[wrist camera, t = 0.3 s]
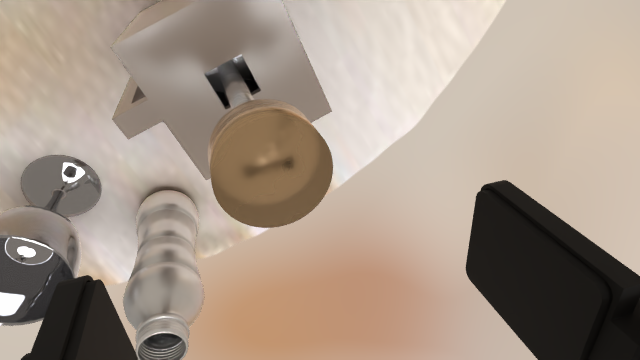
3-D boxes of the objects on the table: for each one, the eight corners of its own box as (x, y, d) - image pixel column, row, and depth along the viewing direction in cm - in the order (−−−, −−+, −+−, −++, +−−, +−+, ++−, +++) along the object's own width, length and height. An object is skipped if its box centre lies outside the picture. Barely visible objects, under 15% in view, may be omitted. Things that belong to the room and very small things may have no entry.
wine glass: (55, 232, 44) (4, 342, 31) (-5, 176, 40) (-92, 276, 27) (122, 196, 44) (98, 290, 32) (69, 137, 40) (18, 217, 27)
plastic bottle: (194, 179, 46) (201, 305, 29) (202, 229, 49) (213, 370, 32) (131, 187, 44) (101, 326, 27) (144, 238, 47) (124, 392, 30)
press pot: (230, -36, 37) (266, -36, 22) (275, 56, 42) (332, 111, 26) (108, 28, 37) (54, 76, 21) (168, 113, 42) (161, 204, 26)
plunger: (241, -14, 28) (329, 17, 12) (287, 79, 32) (401, 202, 15) (148, 36, 28) (101, 140, 11) (205, 123, 32) (233, 297, 15)
